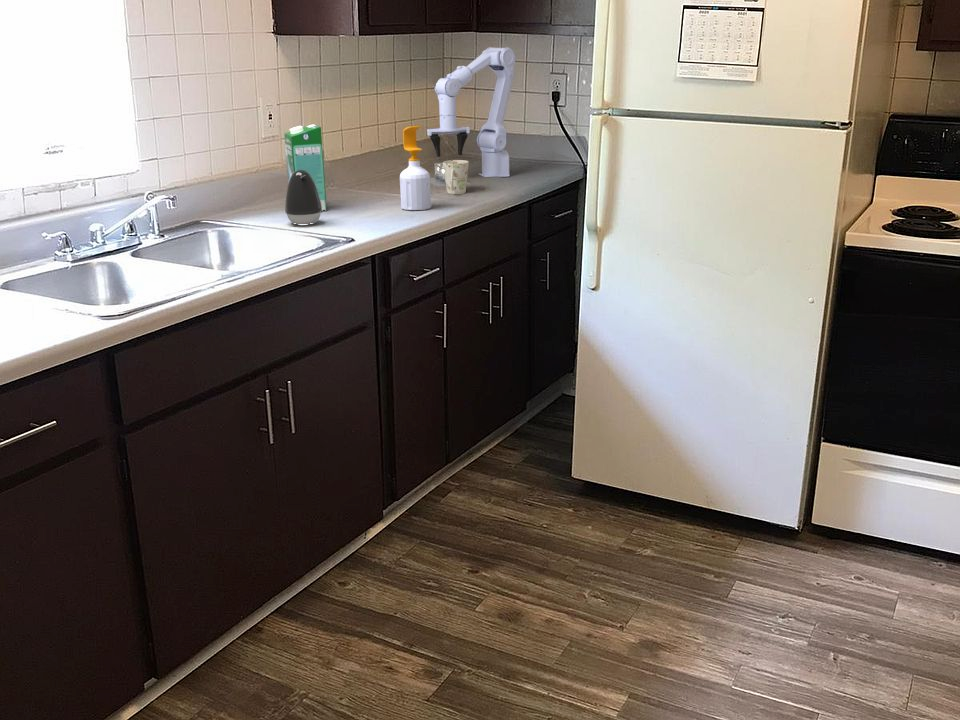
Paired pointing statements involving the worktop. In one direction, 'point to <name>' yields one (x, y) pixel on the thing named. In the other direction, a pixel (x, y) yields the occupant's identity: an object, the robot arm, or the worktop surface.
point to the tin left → (437, 170)
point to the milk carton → (307, 156)
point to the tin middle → (441, 173)
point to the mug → (456, 176)
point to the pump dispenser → (302, 199)
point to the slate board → (438, 182)
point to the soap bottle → (414, 176)
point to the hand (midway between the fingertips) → (449, 155)
